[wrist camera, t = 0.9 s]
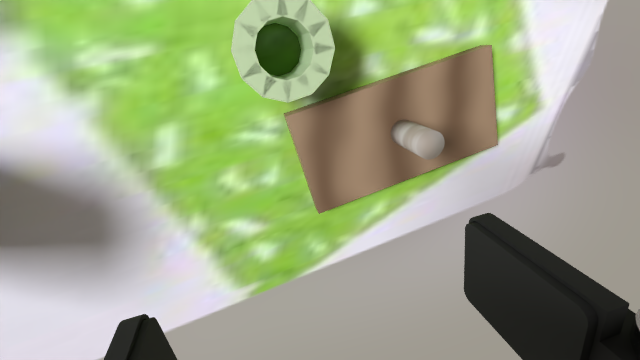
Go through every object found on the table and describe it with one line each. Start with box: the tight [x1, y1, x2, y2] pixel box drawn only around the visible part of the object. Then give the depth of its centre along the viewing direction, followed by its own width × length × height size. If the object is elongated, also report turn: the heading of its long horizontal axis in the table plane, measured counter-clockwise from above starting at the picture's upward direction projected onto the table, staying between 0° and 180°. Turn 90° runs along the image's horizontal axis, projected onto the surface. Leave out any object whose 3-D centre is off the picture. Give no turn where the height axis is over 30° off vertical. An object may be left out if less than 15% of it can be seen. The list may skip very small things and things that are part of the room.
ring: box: [231, 0, 335, 102], centre depth 25 cm, size 7×7×5 cm
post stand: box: [284, 45, 498, 213], centre depth 29 cm, size 20×10×6 cm, turn 107°
